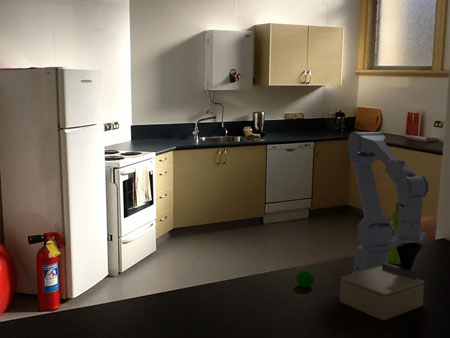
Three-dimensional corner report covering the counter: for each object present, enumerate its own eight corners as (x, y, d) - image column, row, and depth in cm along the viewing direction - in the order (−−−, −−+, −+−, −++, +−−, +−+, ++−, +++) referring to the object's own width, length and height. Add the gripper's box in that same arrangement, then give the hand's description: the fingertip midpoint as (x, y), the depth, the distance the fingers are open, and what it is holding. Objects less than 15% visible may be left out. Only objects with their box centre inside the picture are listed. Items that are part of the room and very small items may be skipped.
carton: (339, 301, 141) (340, 279, 140) (378, 289, 150) (379, 268, 149) (383, 320, 130) (384, 297, 129) (422, 305, 139) (424, 283, 138)
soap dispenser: (404, 258, 177) (408, 199, 174) (404, 265, 171) (408, 204, 168) (386, 256, 179) (389, 198, 176) (385, 262, 173) (388, 202, 170)
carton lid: (340, 278, 140) (341, 271, 140) (379, 267, 149) (380, 260, 149) (385, 296, 129) (385, 287, 128) (424, 282, 138) (424, 274, 138)
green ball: (316, 289, 149) (316, 273, 148) (299, 290, 148) (299, 273, 148) (310, 283, 154) (311, 267, 153) (294, 283, 153) (294, 267, 153)
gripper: (406, 227, 135) (402, 278, 137) (438, 219, 144) (435, 268, 146) (383, 221, 141) (380, 271, 143) (415, 214, 149) (412, 261, 151)
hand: (406, 269), depth 145 cm, fingers closed
